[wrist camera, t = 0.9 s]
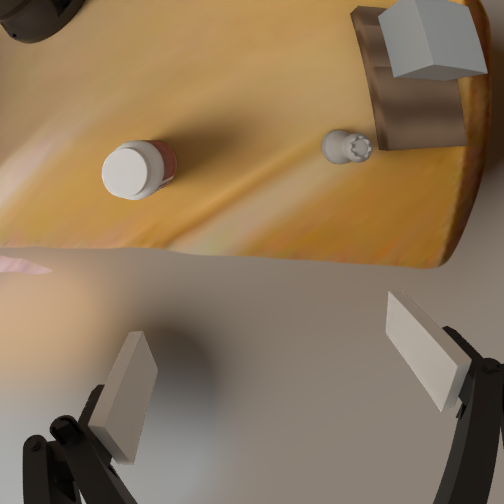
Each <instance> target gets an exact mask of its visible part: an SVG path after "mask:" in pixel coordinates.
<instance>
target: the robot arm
mask: <svg viewBox="0 0 504 504" xmlns="http://www.w3.org/2000/svg"><path fill="white" fill-rule="evenodd" d="M84 1H85V0H0V24H1V25H2V26H3V28H4V29H5V30H6V32H7V33H8V34H9V36H10V37H12V38H13V39H15V40H17V41H20V42H23V43H36V42H39V41H42V40H44V39H46V38H48V37H50V36H51V35H53V34H54V33H56V32H57V31H59V30H60V29H61V28H62V27H63V26H64V25H66V24H67V23H68V22H69V21H70V20H71V19H72V17H73V16H74V15H75V14H76V13H77V11H78V10H79V9H80V7H81V6H82V4H83V2H84ZM386 334H387V335H388V337H389V338H390V340H391V341H392V342H393V344H394V345H395V346H396V348H397V349H398V350H399V352H400V353H401V355H402V356H403V357H404V359H405V360H406V362H407V363H408V364H409V366H410V367H411V369H412V370H413V372H414V373H415V374H416V376H417V377H418V379H419V380H420V382H421V383H422V384H423V386H424V387H425V389H426V390H427V392H428V393H429V395H430V396H431V397H432V399H433V401H434V402H435V404H436V405H437V407H438V408H439V410H440V411H441V412H443V411H445V410H447V409H449V408H452V407H454V406H455V404H456V402H457V399H458V397H459V398H460V399H461V401H462V405H461V407H460V409H459V412H458V414H457V416H456V418H458V422H457V426H456V431H455V435H454V439H453V443H452V447H451V450H450V454H449V458H448V461H447V465H446V468H445V471H444V474H443V477H442V480H441V483H440V486H439V489H438V492H437V494H436V497H435V500H434V502H433V504H487V500H488V496H489V492H490V488H491V483H492V479H493V473H494V468H495V462H496V456H497V450H498V443H499V435H500V426H501V432H502V439H503V446H504V364H500V363H499V362H498V361H497V360H495V359H492V358H483V357H482V356H481V355H480V354H479V353H478V352H477V351H476V350H475V349H474V348H473V347H472V346H471V345H470V344H469V343H468V342H467V341H466V340H465V339H464V338H462V336H461V335H460V334H459V333H458V332H457V331H456V330H454V329H452V328H450V327H448V326H446V327H443V328H441V327H440V326H439V325H438V324H437V323H436V322H435V321H434V320H433V319H432V318H431V317H430V316H429V315H428V314H427V313H426V312H425V311H424V310H423V309H422V308H421V307H420V306H419V305H418V304H417V303H416V302H415V301H414V300H413V299H412V298H411V297H410V296H409V295H408V294H407V293H406V292H404V291H403V290H402V289H401V288H398V289H394V290H390V291H389V292H388V310H387V322H386ZM157 372H158V369H157V367H156V364H155V362H154V360H153V357H152V354H151V352H150V349H149V347H148V344H147V342H146V339H145V336H144V334H143V332H142V331H138V332H130V333H129V335H128V337H127V339H126V341H125V343H124V345H123V347H122V349H121V351H120V354H119V355H118V358H117V360H116V362H115V364H114V366H113V368H112V370H111V373H110V375H109V377H108V379H107V382H106V384H105V385H98V386H97V387H96V388H95V389H94V390H93V391H92V392H91V394H90V396H89V398H88V401H87V403H86V405H85V407H84V409H83V411H82V414H81V416H80V418H79V420H78V423H77V421H76V420H75V419H74V417H72V416H70V415H64V416H61V417H58V418H57V419H55V420H54V421H53V422H52V424H51V426H50V433H51V434H52V436H53V437H54V438H55V439H56V441H49V442H47V441H46V439H45V438H44V437H43V436H41V435H33V436H31V437H29V438H28V439H27V440H26V441H25V443H24V446H23V496H24V497H23V498H24V504H82V503H81V497H80V492H81V494H82V496H83V498H84V500H85V502H86V504H137V502H136V501H135V499H134V498H133V497H132V495H131V494H130V492H129V491H128V489H127V488H126V486H125V485H124V483H123V482H122V481H121V479H120V477H119V476H118V474H117V473H116V471H115V469H114V468H113V466H112V465H111V464H110V462H111V459H112V457H113V459H114V460H115V461H116V462H117V463H118V464H124V465H134V461H135V456H136V452H137V448H138V444H139V440H140V436H141V432H142V428H143V424H144V420H145V416H146V412H147V408H148V405H149V401H150V397H151V394H152V390H153V386H154V383H155V379H156V376H157ZM79 490H80V492H79Z"/></svg>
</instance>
